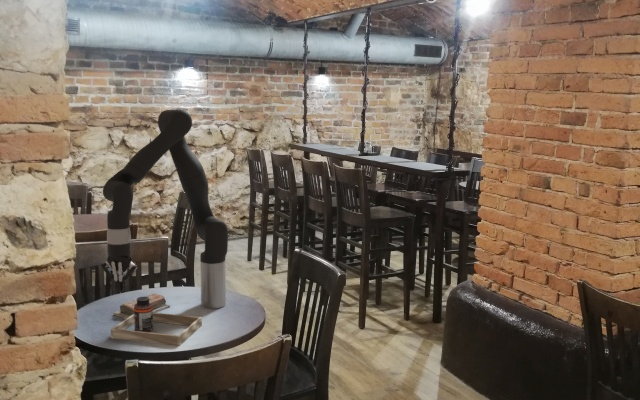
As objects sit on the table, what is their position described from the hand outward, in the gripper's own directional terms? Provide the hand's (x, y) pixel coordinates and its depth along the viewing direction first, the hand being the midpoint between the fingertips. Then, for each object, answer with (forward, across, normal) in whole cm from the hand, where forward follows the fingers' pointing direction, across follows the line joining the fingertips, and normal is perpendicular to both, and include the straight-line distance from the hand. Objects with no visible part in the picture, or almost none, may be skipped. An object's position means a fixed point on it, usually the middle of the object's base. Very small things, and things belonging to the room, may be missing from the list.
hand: (120, 291), depth 215 cm
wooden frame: (+13, -13, 0) cm, 19 cm away
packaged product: (+14, +1, -17) cm, 22 cm away
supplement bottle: (+13, -8, 0) cm, 16 cm away
